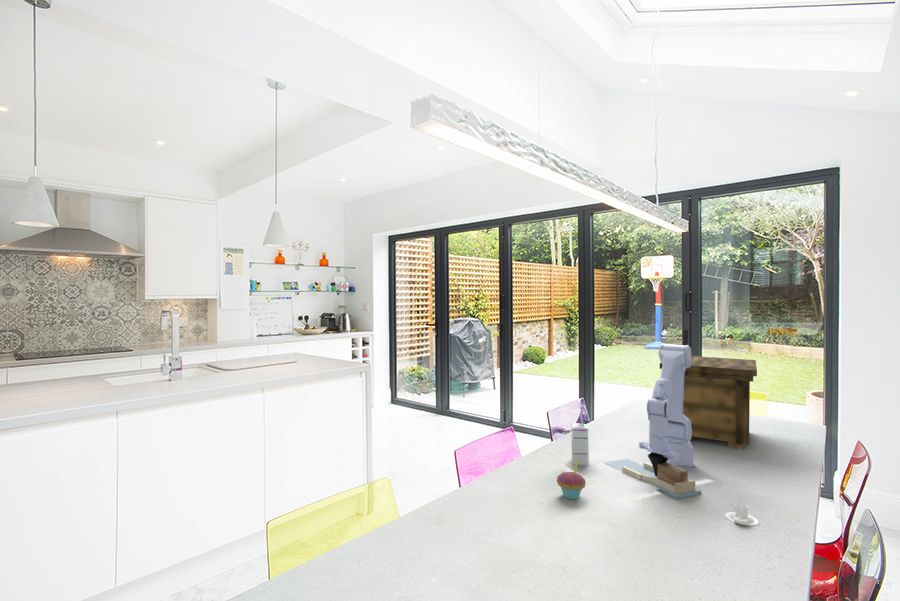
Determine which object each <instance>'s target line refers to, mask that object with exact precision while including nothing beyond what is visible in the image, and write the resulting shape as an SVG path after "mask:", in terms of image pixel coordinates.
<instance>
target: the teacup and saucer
mask: <svg viewBox="0 0 900 601" xmlns="http://www.w3.org/2000/svg"><path fill="white" fill-rule="evenodd" d="M734 506H735V507H734V508H735V511H729V512H726V513H725V518H726V519H727V520H729V521H730V522H733V523H735V524H738V525H741V526H748V527H754V526H758V525H759V524H760V521H759V520H758V518H756V517H755V516H753V515H751V514H749V506H748V505H747V504H746V503H740V502H737V503H735V504H734ZM732 515H735V517H733V518H731V516H732ZM748 517H749V518H750V519H752V520H753V523H752V522H751V523H750V520H748Z"/></svg>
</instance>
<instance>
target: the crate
mask: <svg viewBox="0 0 900 601" xmlns="http://www.w3.org/2000/svg"><path fill="white" fill-rule="evenodd" d="M659 369H660V370H662V363H661V362H659ZM754 377H758V369H757V361H756V359H745V358H729V357H716V356H715V357H714V356H713V357H712V356H699V355H698V356H697V355H691V365H690V368H687V369H686V370H685V374H684V399H683V414H684V415H685V416H686V417H687V418H689V419H690V421H691V427H692V436H691V437H695V438H703V439H710V440H716V441H723V442H728V447H730V448H736V449H743V445H745V446H750V402H751V400H750V395H751V394H750V389H751V388H750V387H751V383H750V382H753V383H754ZM668 421H669V420H668ZM671 422H675V421H671ZM677 423H681V422H677Z"/></svg>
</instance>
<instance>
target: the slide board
mask: <svg viewBox="0 0 900 601" xmlns="http://www.w3.org/2000/svg"><path fill="white" fill-rule="evenodd" d="M604 464H605V465H607V466H609V467H612V468H614V469H615V470H618V471H620V472H622V473H624V474H627V475H629V476H631V477H633V478H635V479H637V480H639V481H641V482H644V483H646V484H648V485H650V486H653V487H655V488H657V489H656V491H657V492H658V493H661V494H663V495H664V496H667V497H669V498H672V499H674V500H675V501H677V500H680V499H685V498H689V497H693V496H697V495H701V494H702V489H699V488H698V487H696V479H688V480H687V481H683V482H678V483H675V486H674V485H672V484H669V483H667V482H665V481H662V480H660V479H658V478H657V477H656V476H655V473H654V469H653V466H652V463H648V462H645V461H644V462H643V463H642V464H640V463H638V462H636V461H634V460H632V459H628V458H622V459H617V460H611V461H606V462H605V461H604Z"/></svg>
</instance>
